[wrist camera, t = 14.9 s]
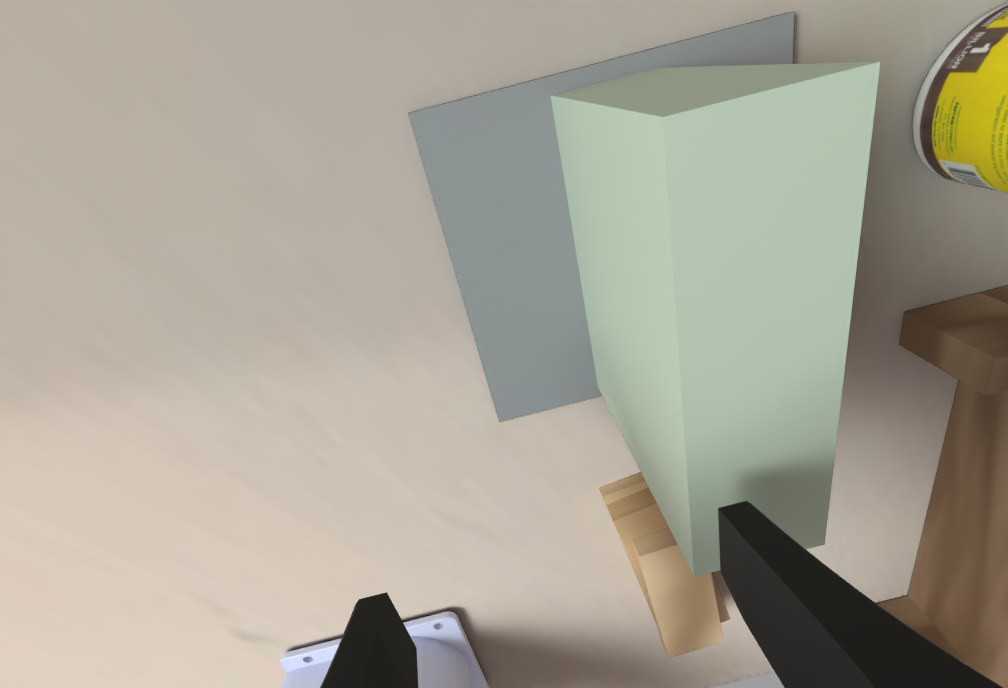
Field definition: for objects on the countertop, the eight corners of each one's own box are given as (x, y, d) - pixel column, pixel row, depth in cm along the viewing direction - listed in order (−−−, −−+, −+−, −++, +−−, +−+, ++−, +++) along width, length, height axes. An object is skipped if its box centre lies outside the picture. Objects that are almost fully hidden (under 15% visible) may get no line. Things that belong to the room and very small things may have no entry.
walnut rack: (853, 624, 32) (935, 733, 27) (904, 312, 21) (1056, 390, 16) (928, 605, 32) (1025, 710, 27) (1017, 282, 21) (1206, 351, 16)
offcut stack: (653, 620, 30) (674, 672, 28) (594, 482, 25) (613, 531, 22) (716, 598, 30) (743, 648, 27) (671, 453, 24) (699, 499, 22)
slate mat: (498, 416, 22) (499, 422, 21) (408, 112, 16) (408, 113, 16) (776, 345, 21) (781, 349, 21) (786, 12, 16) (794, 11, 15)
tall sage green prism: (597, 387, 21) (694, 577, 13) (550, 95, 16) (662, 117, 8) (679, 366, 21) (824, 544, 13) (658, 67, 16) (880, 61, 8)
